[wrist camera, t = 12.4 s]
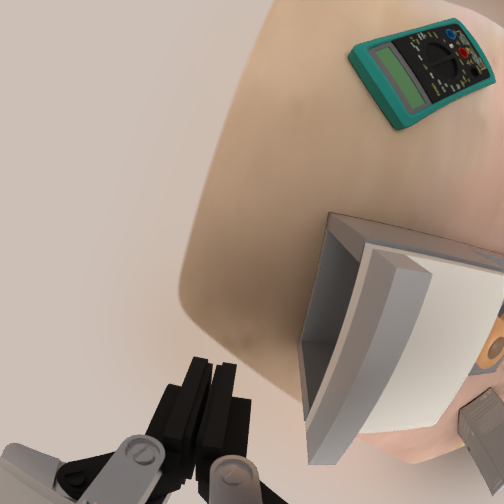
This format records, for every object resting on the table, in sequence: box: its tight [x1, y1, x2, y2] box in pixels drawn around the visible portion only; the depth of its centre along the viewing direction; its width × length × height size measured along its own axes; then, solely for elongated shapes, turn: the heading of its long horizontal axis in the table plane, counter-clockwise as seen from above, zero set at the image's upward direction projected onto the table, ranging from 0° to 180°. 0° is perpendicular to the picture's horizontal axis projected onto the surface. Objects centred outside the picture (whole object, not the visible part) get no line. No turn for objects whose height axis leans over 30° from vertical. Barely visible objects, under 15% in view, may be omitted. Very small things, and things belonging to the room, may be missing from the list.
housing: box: [297, 212, 504, 421], centre depth 17 cm, size 24×12×9 cm, turn 82°
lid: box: [305, 243, 504, 465], centre depth 11 cm, size 10×12×4 cm
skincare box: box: [458, 388, 504, 496], centre depth 18 cm, size 8×7×16 cm
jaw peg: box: [476, 316, 504, 369], centre depth 17 cm, size 4×4×8 cm
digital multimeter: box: [348, 18, 496, 130], centre depth 15 cm, size 7×15×3 cm, turn 122°
